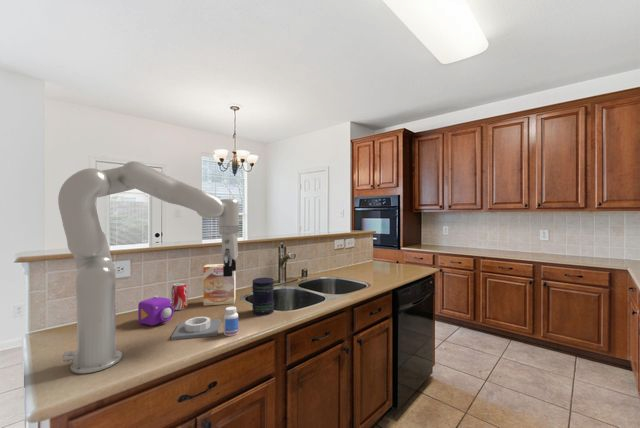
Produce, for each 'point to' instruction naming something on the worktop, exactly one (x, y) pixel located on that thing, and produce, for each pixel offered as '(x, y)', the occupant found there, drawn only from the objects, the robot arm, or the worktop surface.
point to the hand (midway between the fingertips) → (229, 273)
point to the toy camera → (155, 311)
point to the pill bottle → (230, 321)
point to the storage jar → (263, 296)
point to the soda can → (179, 296)
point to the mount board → (196, 328)
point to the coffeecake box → (218, 286)
